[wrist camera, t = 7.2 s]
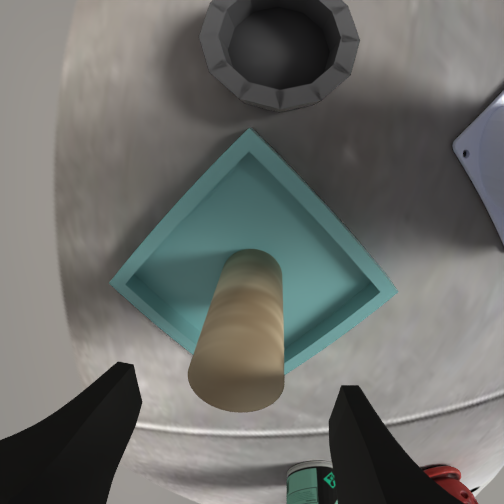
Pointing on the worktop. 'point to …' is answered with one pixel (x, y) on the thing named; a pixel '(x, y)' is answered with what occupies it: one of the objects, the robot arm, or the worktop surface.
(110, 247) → the worktop surface
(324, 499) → the spray can
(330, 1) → the dark gray cup
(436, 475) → the plant pot
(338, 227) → the teal tray
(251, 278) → the birch dowel
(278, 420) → the worktop surface
